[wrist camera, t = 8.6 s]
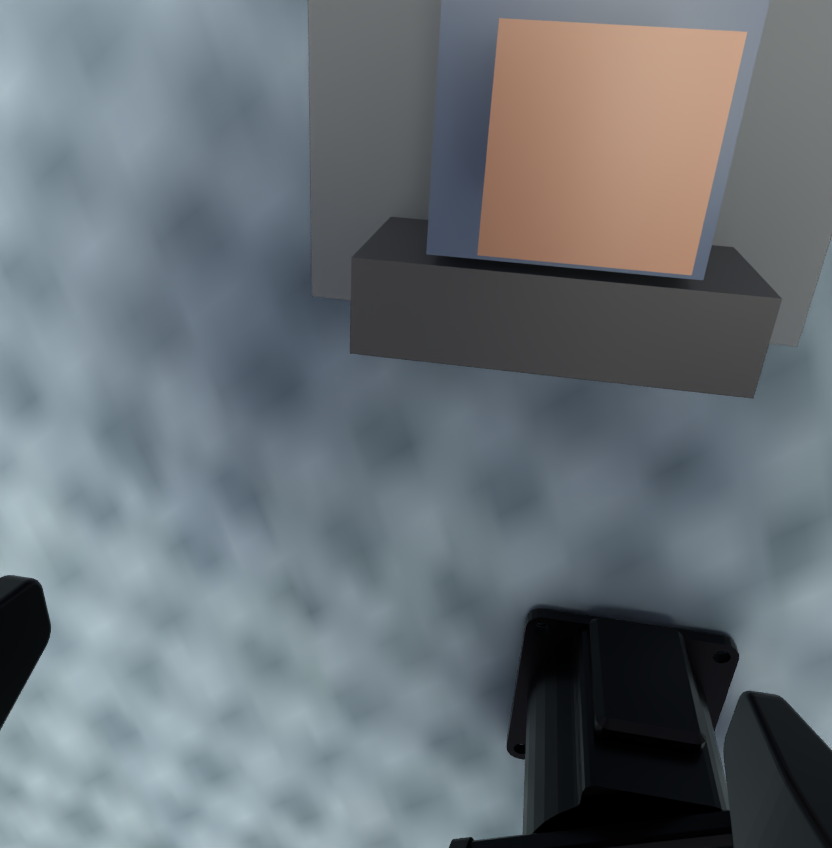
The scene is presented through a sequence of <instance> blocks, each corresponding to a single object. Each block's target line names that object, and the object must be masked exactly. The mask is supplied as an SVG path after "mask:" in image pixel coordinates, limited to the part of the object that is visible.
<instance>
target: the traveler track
mask: <svg viewBox="0 0 832 848" xmlns="http://www.w3.org/2000/svg"><path fill="white" fill-rule="evenodd" d="M441 1H442V0H308V35H309V118H310V201H311V283H312V297H322V298H332V299H342V300H351V325H350V353H351V354H360V355H369V356H378V357H387V358H396V359H404V360H413V361H422V362H431V363H440V364H449V365H458V366H467V367H476V368H485V369H494V370H503V371H512V372H521V373H530V374H539V375H548V376H556V377H565V378H574V379H583V380H592V381H601V382H610V383H619V384H628V385H637V386H646V387H655V388H664V389H673V390H682V391H691V392H700V393H708V394H717V395H726V396H735V397H744V398H754V394H755V391H756V387H757V384H758V380H759V377H760V374H761V370H762V367H763V363H764V360H765V356H766V353H767V350H768V346H769V344H778V345H788V346H798V343H799V339H800V336H801V333H802V330H803V326H804V323H805V320H806V317H807V314H808V310H809V307H810V304H811V301H812V297H813V294H814V291H815V288H816V285H817V281H818V278H819V275H820V272H821V268H822V265H823V262H824V259H825V256H826V252H827V249H828V246H829V243H830V240H831V236H832V0H770V2H769V6H768V11H767V15H766V19H765V23H764V27H763V32H762V36H761V40H760V44H759V49H758V53H757V57H756V61H755V65H754V70H753V74H752V78H751V82H750V86H749V91H748V95H747V99H746V103H745V107H744V112H743V116H742V120H741V124H740V128H739V133H738V137H737V141H736V145H735V149H734V154H733V158H732V162H731V166H730V170H729V175H728V179H727V183H726V187H725V192H724V196H723V200H722V204H721V208H720V213H719V217H718V221H717V225H716V229H715V234H714V238H713V242H712V246H711V250H710V255H709V259H708V263H707V267H706V271H705V276H704V280H694V279H683V278H673V277H662V276H651V275H641V274H630V273H620V272H609V271H598V270H588V269H577V268H567V267H556V266H545V265H535V264H524V263H514V262H503V261H492V260H482V259H471V258H461V257H450V256H439V255H429V254H426V251H427V234H428V218H429V201H430V184H431V168H432V151H433V134H434V118H435V101H436V85H437V68H438V51H439V35H440V18H441Z"/></svg>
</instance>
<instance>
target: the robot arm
mask: <svg viewBox="0 0 832 848" xmlns="http://www.w3.org/2000/svg"><path fill="white" fill-rule="evenodd" d="M538 623H543V624H546V625H547V626H546V627H539V626H537V625H536V624H538ZM50 633H51V623H50V619H49V614H48V610H47V605H46V601H45V597H44V592H43V588H42V585H41V584H40V583H39V582H38V580H36V579H33V578H27V577H21V576H15V575H7V576H3V577H1V578H0V730H1V728H2V726H3V724H4V722H5V721H6V719H7V717H8V715H9V713H10V711H11V710H12V708H13V706H14V704H15V702H16V700H17V699H18V697H19V695H20V693H21V691H22V689H23V688H24V686H25V684H26V682H27V680H28V679H29V677H30V675H31V673H32V671H33V669H34V668H35V666H36V664H37V662H38V660H39V658H40V657H41V655H42V653H43V651H44V649H45V647H46V645H47V643H48V641H49V638H50ZM718 651H726V652H725V653H723V654H716V652H718ZM738 661H739V653H738V650H737V646H736V644H735V642H734V641H733V640H732V639H731V638H729V637H726V636H722V635H715V634H709V633H702V632H695V631H689V630H682V629H675V628H669V627H662V626H655V625H648V624H642V623H635V622H628V621H622V620H615V619H608V618H602V617H595V616H588V615H581V614H575V613H568V612H561V611H555V610H548V609H536V610H533V611H531V612H530V613H529V614H528V615H527V618H526V622H525V628H524V635H523V641H522V647H521V653H520V660H519V666H518V672H517V679H516V685H515V691H514V698H513V704H512V710H511V716H510V723H509V729H508V735H507V751H508V752H509V754H510V755H512V756H513V757H516V758H519V759H524V760H525V780H524V808H523V835H516V836H507V837H499V838H491V839H482V840H473V838H472V837H468V838H460V839H453V840H452V841H451V844H450V847H449V848H832V750H831V749H830V748H829V747H828V746H827V745H826V743H825V742H824V741H823V740H822V739H821V738H820V737H819V736H818V735H817V734H816V733H815V732H814V731H813V729H812V728H811V727H810V726H809V725H808V724H807V723H806V722H805V721H804V720H803V719H802V718H801V717H800V715H799V714H798V713H797V712H796V711H795V710H794V709H793V708H792V707H791V706H790V705H789V704H788V703H787V702H786V701H785V700H784V699H783V698H782V697H780V696H778V695H775V694H768V693H762V692H756V691H745V692H743V693H742V695H741V696H740V698H739V700H738V703H737V706H736V708H735V711H734V714H733V717H732V720H731V722H730V725H729V728H728V731H727V734H726V737H725V742H724V763H725V772H726V779H725V775H724V771H723V767H722V762H721V758H720V754H719V750H718V746H717V742H716V738H715V733H714V730H715V728H716V725H717V722H718V719H719V716H720V713H721V710H722V707H723V704H724V701H725V698H726V696H727V693H728V690H729V687H730V684H731V681H732V678H733V675H734V672H735V669H736V666H737V663H738ZM520 744H523V745H520ZM726 781H727V783H726Z"/></svg>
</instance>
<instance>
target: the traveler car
mask: <svg viewBox="0 0 832 848" xmlns="http://www.w3.org/2000/svg"><path fill="white" fill-rule="evenodd" d="M769 2H770V0H442V1H441V18H440V35H439V51H438V68H437V85H436V101H435V118H434V134H433V151H432V168H431V184H430V201H429V218H428V234H427V251H426V254H429V255H439V256H450V257H461V258H471V259H482V260H492V261H503V262H514V263H524V264H535V265H545V266H556V267H567V268H577V269H588V270H598V271H609V272H620V273H630V274H641V275H651V276H662V277H673V278H683V279H694V280H704V276H705V271H706V267H707V263H708V259H709V255H710V250H711V246H712V242H713V238H714V234H715V229H716V225H717V221H718V217H719V213H720V208H721V204H722V200H723V196H724V192H725V187H726V183H727V179H728V175H729V170H730V166H731V162H732V158H733V154H734V149H735V145H736V141H737V137H738V133H739V128H740V124H741V120H742V116H743V112H744V107H745V103H746V99H747V95H748V91H749V86H750V82H751V78H752V74H753V70H754V65H755V61H756V57H757V53H758V49H759V44H760V40H761V36H762V32H763V27H764V23H765V19H766V15H767V11H768V6H769Z"/></svg>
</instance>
